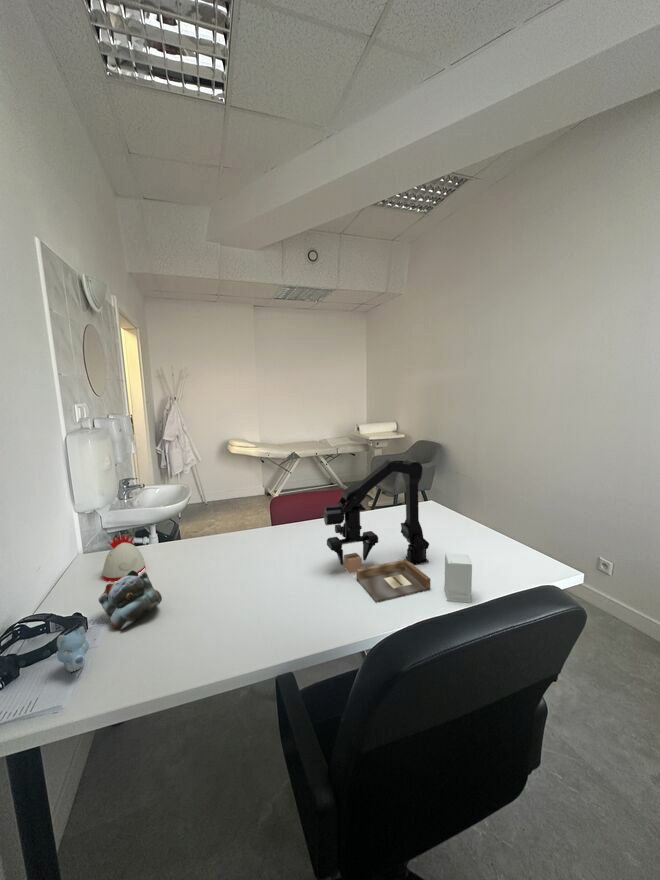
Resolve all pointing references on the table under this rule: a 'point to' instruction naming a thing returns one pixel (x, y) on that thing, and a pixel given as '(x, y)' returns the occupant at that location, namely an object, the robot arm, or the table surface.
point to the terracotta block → (352, 562)
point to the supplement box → (458, 577)
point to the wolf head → (72, 649)
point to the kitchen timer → (122, 559)
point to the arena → (392, 580)
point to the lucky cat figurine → (129, 599)
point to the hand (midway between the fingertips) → (353, 562)
